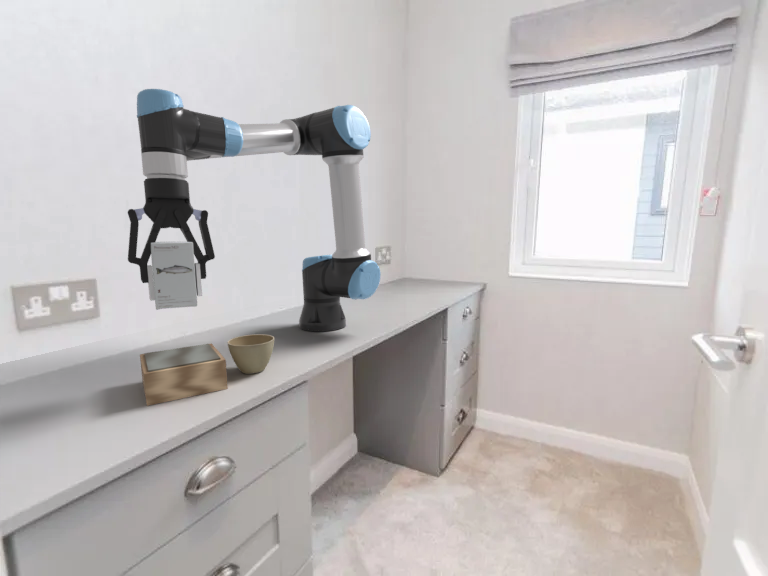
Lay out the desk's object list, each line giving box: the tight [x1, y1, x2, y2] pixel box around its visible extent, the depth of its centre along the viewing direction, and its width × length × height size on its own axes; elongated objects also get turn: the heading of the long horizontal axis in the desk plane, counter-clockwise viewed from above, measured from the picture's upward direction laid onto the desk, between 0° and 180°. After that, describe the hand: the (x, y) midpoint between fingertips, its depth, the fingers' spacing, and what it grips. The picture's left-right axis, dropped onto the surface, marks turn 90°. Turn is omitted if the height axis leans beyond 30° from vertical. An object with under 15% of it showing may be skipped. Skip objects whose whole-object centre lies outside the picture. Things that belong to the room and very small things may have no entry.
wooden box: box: [139, 343, 229, 407], centre depth 82 cm, size 14×14×6 cm
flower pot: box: [226, 333, 275, 375], centre depth 91 cm, size 10×10×7 cm
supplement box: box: [150, 241, 198, 311], centre depth 79 cm, size 7×7×13 cm
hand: (176, 297), depth 80 cm, fingers closed on supplement box, 8 cm apart
